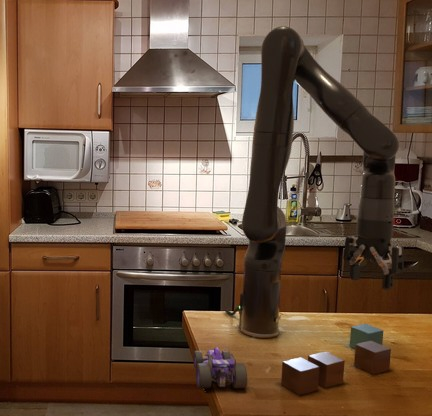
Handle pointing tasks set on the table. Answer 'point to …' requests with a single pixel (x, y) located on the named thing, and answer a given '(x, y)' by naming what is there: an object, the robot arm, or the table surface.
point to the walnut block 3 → (372, 357)
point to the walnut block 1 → (300, 376)
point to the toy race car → (219, 369)
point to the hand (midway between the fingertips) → (370, 284)
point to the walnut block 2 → (328, 368)
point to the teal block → (365, 334)
